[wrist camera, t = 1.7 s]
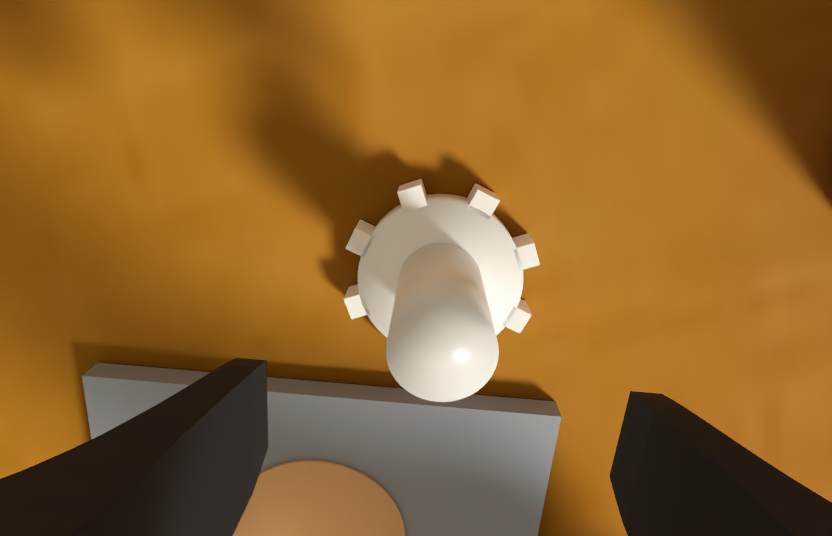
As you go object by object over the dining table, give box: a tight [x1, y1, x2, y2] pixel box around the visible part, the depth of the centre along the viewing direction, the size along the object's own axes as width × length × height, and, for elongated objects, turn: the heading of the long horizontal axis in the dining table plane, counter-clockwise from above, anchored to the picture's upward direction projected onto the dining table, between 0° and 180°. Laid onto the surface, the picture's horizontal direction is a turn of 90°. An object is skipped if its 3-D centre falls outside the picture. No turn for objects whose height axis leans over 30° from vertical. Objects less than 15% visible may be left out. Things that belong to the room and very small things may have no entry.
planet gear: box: [344, 178, 540, 402], centre depth 16 cm, size 6×6×6 cm
